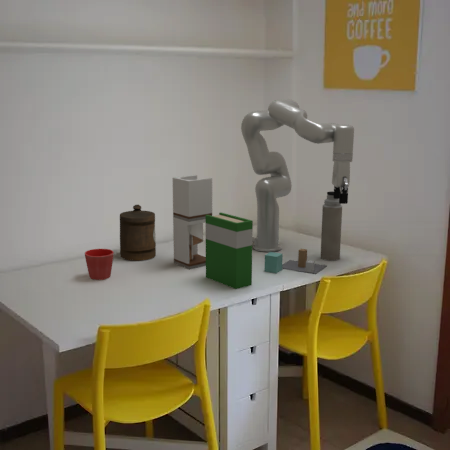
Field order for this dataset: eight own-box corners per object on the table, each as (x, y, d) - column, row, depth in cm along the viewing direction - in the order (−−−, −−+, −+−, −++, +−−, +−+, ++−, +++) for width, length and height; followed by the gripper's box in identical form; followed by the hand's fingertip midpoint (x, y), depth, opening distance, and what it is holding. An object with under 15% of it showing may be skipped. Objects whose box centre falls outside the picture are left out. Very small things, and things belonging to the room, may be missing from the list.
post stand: (277, 268, 249) (278, 250, 247) (289, 260, 259) (290, 243, 257) (315, 274, 241) (316, 256, 239) (326, 266, 251) (327, 249, 250)
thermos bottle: (320, 255, 267) (322, 190, 261) (339, 255, 266) (342, 190, 260) (320, 260, 259) (323, 193, 253) (340, 260, 259) (343, 193, 252)
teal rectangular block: (264, 271, 244) (264, 255, 243) (270, 267, 249) (270, 251, 247) (276, 273, 242) (277, 256, 240) (282, 269, 246) (282, 253, 245)
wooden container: (163, 255, 265) (162, 204, 260) (136, 263, 254) (134, 210, 249) (140, 249, 275) (138, 200, 270) (113, 256, 264) (111, 205, 259)
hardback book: (205, 277, 237) (205, 215, 231) (220, 273, 241) (221, 212, 236) (236, 289, 224) (236, 223, 218) (251, 285, 228) (252, 220, 223)
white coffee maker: (189, 269, 246) (188, 181, 238) (173, 263, 254) (172, 177, 246) (212, 264, 253) (212, 178, 245) (196, 258, 261) (195, 174, 253)
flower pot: (120, 275, 239) (119, 250, 236) (101, 283, 229) (100, 257, 227) (99, 271, 244) (98, 246, 242) (79, 278, 235) (78, 253, 232)
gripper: (328, 154, 250) (326, 196, 254) (338, 160, 233) (335, 205, 237) (346, 154, 250) (344, 196, 254) (358, 160, 233) (355, 205, 237)
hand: (340, 201), depth 246 cm, fingers open, 9 cm apart
